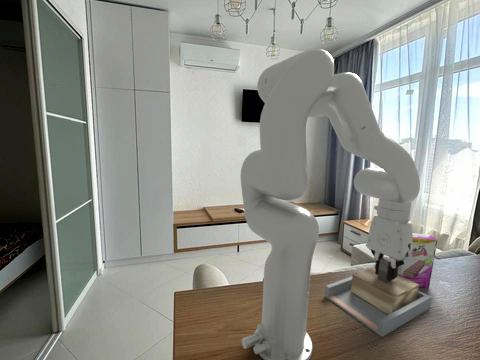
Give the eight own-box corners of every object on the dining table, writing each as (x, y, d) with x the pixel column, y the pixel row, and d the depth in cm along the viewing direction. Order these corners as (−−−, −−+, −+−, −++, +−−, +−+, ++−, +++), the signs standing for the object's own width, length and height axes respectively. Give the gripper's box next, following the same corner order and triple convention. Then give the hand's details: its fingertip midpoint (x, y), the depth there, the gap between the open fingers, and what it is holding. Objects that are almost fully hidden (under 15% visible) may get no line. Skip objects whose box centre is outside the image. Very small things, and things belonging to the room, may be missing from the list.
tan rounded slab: (391, 316, 64) (397, 274, 62) (350, 291, 74) (354, 255, 73) (416, 302, 70) (422, 264, 68) (375, 281, 80) (379, 247, 78)
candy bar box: (393, 286, 79) (399, 236, 77) (385, 277, 84) (391, 231, 82) (430, 289, 78) (438, 239, 76) (420, 280, 83) (428, 233, 81)
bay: (381, 336, 58) (383, 323, 58) (325, 296, 73) (326, 285, 72) (429, 308, 69) (431, 296, 68) (371, 278, 83) (373, 268, 83)
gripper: (357, 207, 73) (351, 266, 76) (418, 224, 59) (408, 295, 62) (373, 205, 77) (367, 261, 80) (434, 220, 63) (424, 287, 66)
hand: (385, 275), depth 71 cm, fingers open, 2 cm apart
